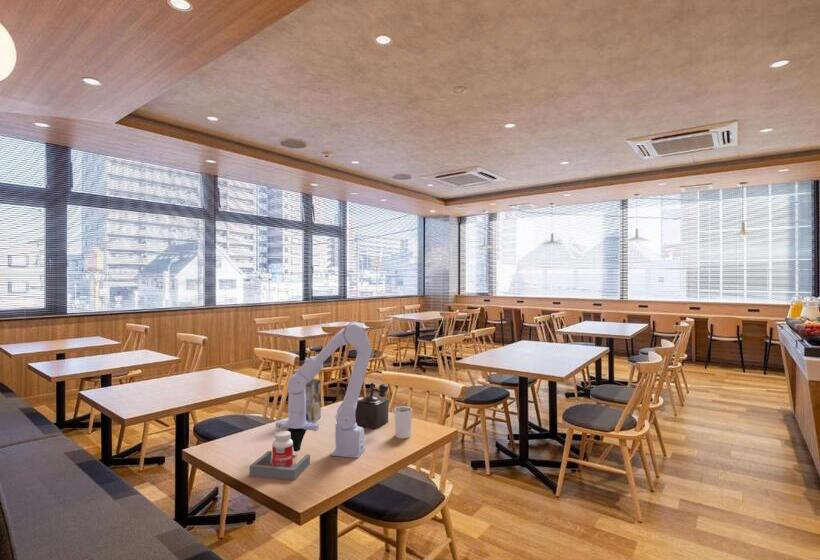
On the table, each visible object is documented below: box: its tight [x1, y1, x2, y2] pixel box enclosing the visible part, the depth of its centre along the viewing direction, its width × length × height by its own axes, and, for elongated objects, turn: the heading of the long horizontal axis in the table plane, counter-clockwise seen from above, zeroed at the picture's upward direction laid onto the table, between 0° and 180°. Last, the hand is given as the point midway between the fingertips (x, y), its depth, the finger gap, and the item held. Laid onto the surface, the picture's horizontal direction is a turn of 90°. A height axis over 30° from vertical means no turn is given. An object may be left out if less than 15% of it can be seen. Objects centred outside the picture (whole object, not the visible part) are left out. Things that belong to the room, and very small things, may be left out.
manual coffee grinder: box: [355, 382, 390, 430], centre depth 176 cm, size 16×11×18 cm
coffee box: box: [305, 379, 322, 423], centre depth 180 cm, size 9×6×16 cm
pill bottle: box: [271, 430, 294, 468], centre depth 136 cm, size 6×6×11 cm
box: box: [249, 450, 311, 481], centre depth 136 cm, size 14×11×3 cm
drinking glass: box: [394, 405, 413, 439], centre depth 165 cm, size 7×7×10 cm
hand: (297, 450), depth 147 cm, fingers closed
